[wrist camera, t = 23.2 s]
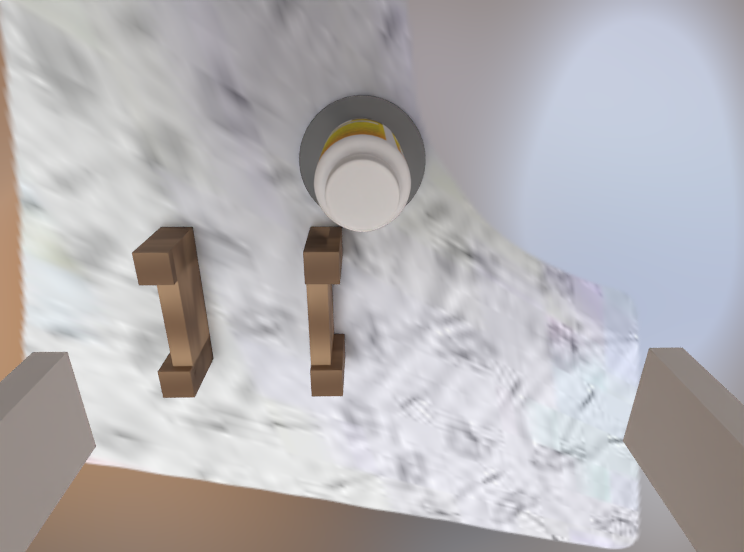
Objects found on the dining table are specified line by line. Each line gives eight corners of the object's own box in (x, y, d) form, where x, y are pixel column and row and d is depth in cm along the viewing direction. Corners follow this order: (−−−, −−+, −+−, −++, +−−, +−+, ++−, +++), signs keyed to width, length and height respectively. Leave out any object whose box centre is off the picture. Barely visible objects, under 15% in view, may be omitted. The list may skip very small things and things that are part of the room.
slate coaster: (296, 95, 34) (295, 96, 33) (427, 95, 34) (428, 96, 33) (303, 220, 38) (302, 223, 37) (421, 220, 38) (422, 222, 37)
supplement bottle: (306, 158, 35) (286, 198, 26) (360, 99, 33) (360, 118, 24) (363, 210, 37) (364, 265, 27) (417, 156, 35) (437, 195, 26)
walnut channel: (160, 227, 38) (131, 252, 33) (341, 226, 38) (338, 252, 33) (185, 359, 43) (163, 397, 38) (345, 357, 43) (342, 396, 38)
